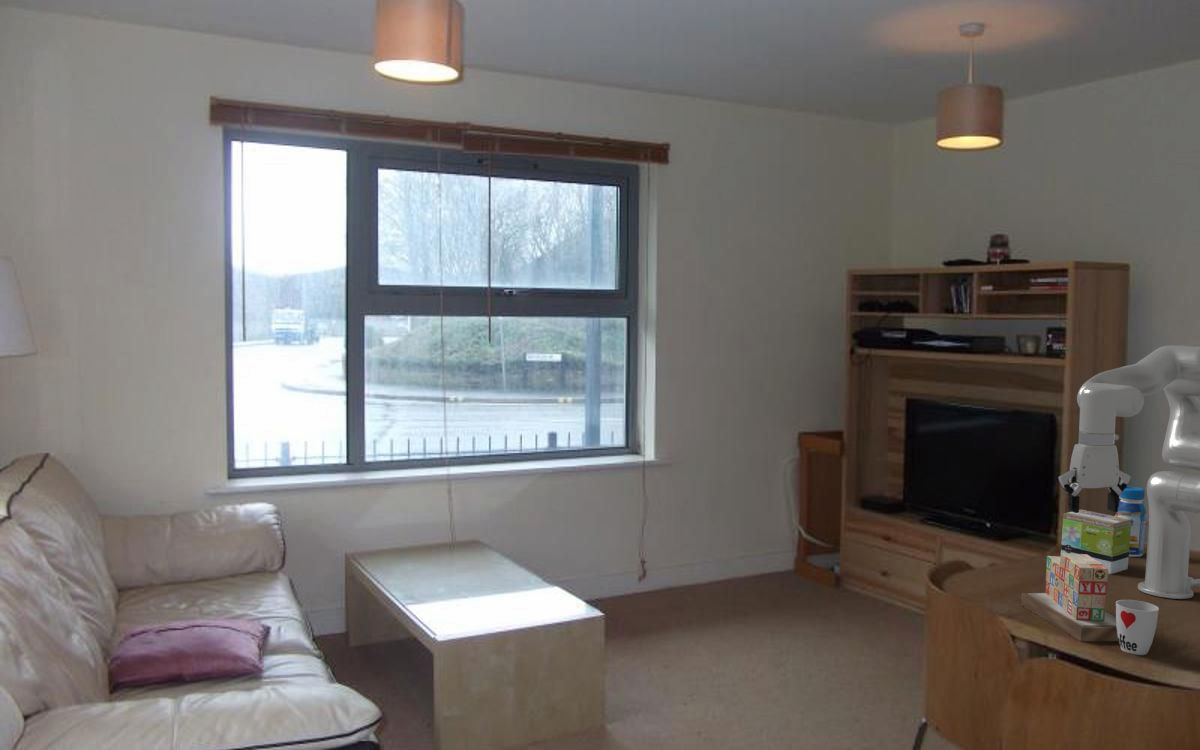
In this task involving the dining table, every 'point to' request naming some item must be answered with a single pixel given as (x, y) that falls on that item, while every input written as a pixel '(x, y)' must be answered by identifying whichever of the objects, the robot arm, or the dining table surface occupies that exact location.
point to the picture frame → (1070, 619)
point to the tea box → (1097, 538)
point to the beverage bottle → (1134, 517)
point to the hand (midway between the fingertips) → (1093, 511)
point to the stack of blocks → (1078, 585)
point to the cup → (1135, 625)
